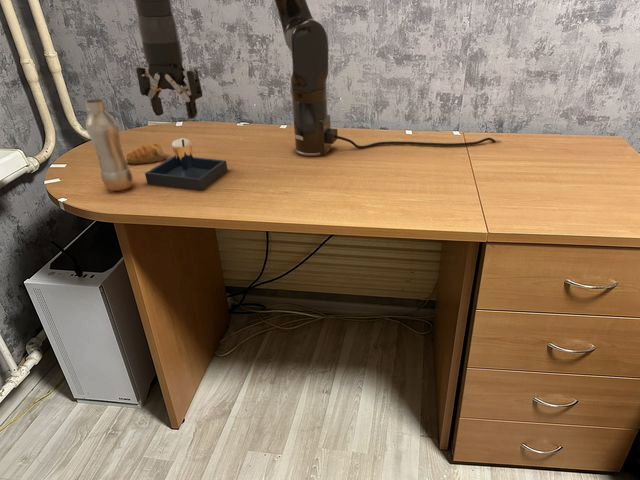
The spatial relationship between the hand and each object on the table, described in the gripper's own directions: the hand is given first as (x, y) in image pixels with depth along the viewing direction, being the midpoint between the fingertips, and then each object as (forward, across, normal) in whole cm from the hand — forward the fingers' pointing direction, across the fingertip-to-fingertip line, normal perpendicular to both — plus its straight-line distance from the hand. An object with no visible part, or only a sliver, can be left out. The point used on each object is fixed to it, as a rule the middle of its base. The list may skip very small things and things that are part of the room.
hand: (175, 116), depth 111 cm
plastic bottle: (+15, +12, +10) cm, 22 cm away
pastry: (+15, +17, -8) cm, 24 cm away
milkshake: (+15, 0, 0) cm, 15 cm away
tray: (+15, 0, 0) cm, 15 cm away
